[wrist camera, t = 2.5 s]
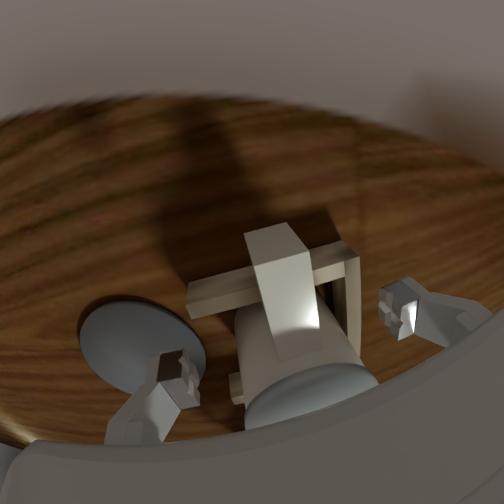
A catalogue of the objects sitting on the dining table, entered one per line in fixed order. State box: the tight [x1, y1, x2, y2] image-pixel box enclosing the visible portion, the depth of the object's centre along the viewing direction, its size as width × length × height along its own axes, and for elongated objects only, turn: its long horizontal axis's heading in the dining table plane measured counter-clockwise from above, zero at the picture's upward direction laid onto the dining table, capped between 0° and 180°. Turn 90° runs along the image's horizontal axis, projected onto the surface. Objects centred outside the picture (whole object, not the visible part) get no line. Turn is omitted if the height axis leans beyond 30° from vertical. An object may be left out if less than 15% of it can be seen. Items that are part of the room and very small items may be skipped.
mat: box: [80, 300, 206, 394], centre depth 22 cm, size 12×12×1 cm
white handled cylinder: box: [234, 222, 379, 430], centre depth 17 cm, size 14×8×10 cm, turn 13°
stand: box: [185, 240, 361, 405], centre depth 22 cm, size 12×12×3 cm
